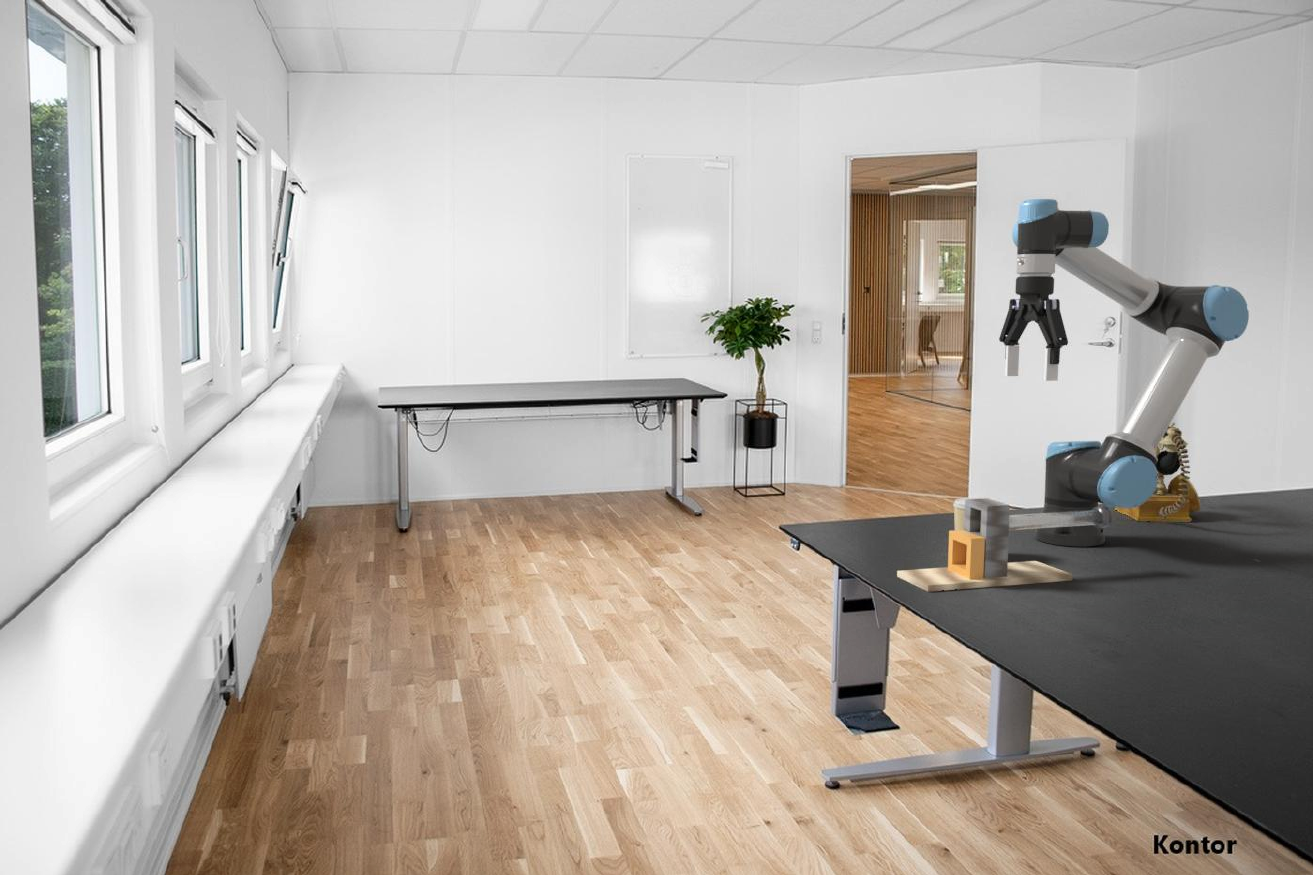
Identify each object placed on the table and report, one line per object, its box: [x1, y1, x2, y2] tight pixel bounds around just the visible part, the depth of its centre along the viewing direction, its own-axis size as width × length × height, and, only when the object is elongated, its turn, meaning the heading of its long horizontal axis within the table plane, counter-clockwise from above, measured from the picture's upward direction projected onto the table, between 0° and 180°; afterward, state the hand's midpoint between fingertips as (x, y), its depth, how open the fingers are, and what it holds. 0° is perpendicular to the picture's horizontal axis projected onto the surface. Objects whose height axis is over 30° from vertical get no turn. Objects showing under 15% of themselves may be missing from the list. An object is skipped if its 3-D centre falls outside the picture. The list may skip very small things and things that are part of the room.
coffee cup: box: [953, 497, 982, 530], centre depth 240 cm, size 9×9×12 cm
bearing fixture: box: [896, 497, 1073, 593], centre depth 220 cm, size 32×12×15 cm, turn 106°
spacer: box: [947, 529, 985, 579], centre depth 219 cm, size 3×8×8 cm, turn 16°
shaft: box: [1009, 505, 1113, 531], centre depth 223 cm, size 28×4×4 cm, turn 106°
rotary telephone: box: [1114, 421, 1202, 522], centre depth 279 cm, size 35×18×25 cm, turn 177°
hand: (1030, 378), depth 232 cm, fingers open, 13 cm apart
